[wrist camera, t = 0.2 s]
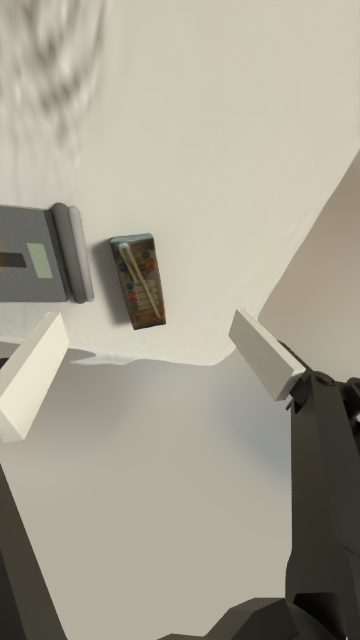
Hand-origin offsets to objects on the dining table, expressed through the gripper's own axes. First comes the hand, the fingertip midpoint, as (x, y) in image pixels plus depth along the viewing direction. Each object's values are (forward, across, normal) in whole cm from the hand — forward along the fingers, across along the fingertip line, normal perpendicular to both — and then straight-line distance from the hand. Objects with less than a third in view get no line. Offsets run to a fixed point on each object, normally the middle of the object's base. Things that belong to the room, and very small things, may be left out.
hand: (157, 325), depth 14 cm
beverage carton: (+28, -1, -7) cm, 29 cm away
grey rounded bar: (+28, -14, -2) cm, 31 cm away
